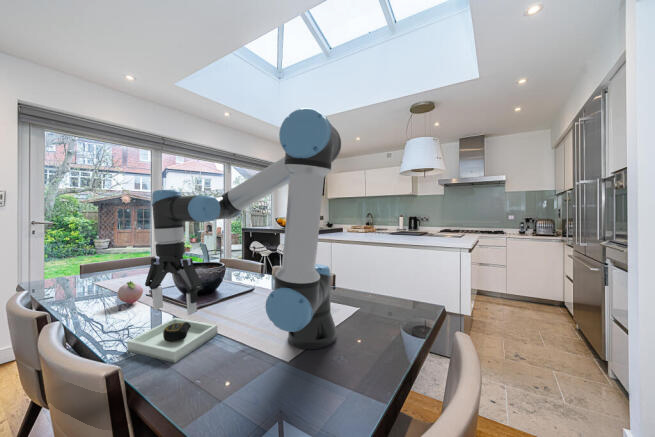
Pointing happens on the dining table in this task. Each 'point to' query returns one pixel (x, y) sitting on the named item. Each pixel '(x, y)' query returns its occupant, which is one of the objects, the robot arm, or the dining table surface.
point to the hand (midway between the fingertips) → (174, 311)
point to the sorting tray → (172, 351)
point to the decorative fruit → (130, 292)
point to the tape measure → (176, 331)
